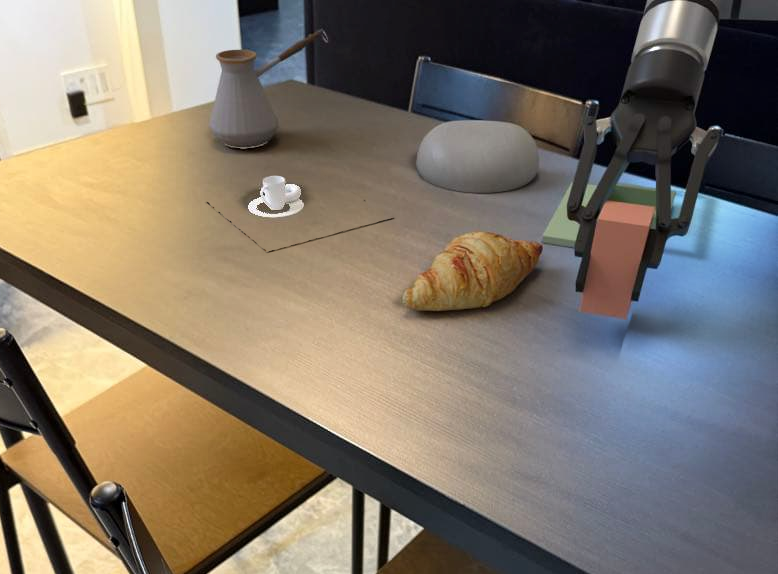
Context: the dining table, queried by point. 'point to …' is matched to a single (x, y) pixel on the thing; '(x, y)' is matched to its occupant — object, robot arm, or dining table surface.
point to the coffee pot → (246, 97)
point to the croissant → (473, 272)
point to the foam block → (615, 258)
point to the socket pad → (567, 230)
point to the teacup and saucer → (277, 197)
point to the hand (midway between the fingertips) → (607, 291)
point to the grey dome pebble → (478, 156)
